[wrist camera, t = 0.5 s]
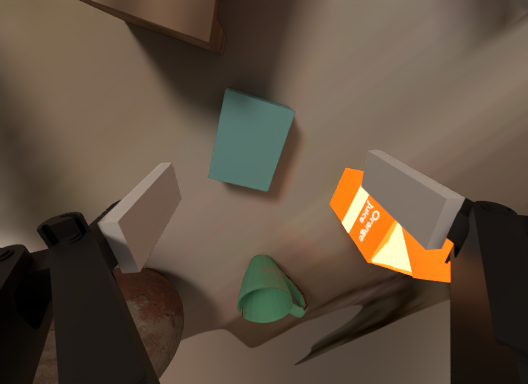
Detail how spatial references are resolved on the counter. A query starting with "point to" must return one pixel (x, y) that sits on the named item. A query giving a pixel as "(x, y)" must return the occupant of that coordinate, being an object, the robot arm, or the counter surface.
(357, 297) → the counter surface
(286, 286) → the mug
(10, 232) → the counter surface
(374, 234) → the orange juice
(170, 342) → the jug
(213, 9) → the shelf
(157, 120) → the counter surface
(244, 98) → the teal rectangular block
